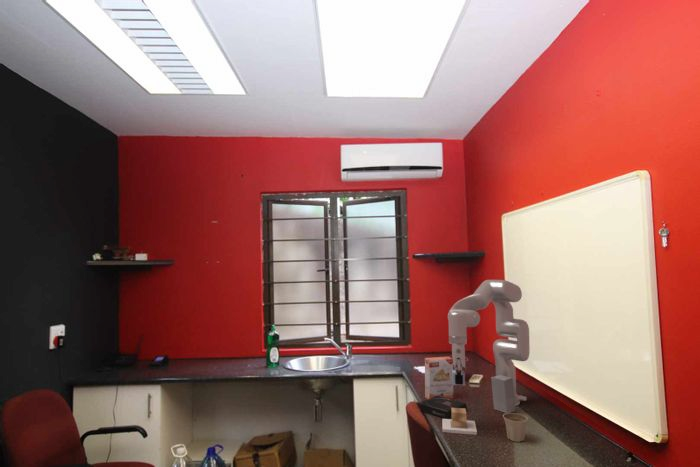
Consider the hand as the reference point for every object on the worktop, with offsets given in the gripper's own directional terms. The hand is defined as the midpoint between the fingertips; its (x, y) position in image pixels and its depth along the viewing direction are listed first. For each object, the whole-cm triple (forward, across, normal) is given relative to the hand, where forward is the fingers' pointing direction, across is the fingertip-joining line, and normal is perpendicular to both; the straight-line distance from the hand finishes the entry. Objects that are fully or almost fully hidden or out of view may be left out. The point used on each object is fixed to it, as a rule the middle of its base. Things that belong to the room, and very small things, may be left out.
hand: (458, 381), depth 181 cm
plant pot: (+20, +76, -2) cm, 79 cm away
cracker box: (+20, +38, +8) cm, 44 cm away
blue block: (+1, 0, 0) cm, 1 cm away
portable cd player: (+20, +20, +7) cm, 29 cm away
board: (+20, 0, 0) cm, 20 cm away
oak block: (+18, 0, 0) cm, 18 cm away
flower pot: (+20, -7, -22) cm, 30 cm away
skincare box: (+20, +26, -22) cm, 39 cm away
